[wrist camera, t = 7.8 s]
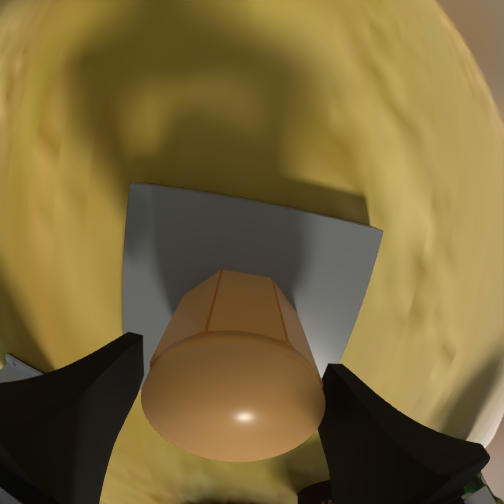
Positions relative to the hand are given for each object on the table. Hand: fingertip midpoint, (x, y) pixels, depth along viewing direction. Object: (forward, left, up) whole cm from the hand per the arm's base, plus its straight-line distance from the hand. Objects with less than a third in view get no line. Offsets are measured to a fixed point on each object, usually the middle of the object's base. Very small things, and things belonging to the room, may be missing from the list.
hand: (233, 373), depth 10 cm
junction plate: (0, 0, -5) cm, 5 cm away
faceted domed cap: (0, 0, -4) cm, 4 cm away
